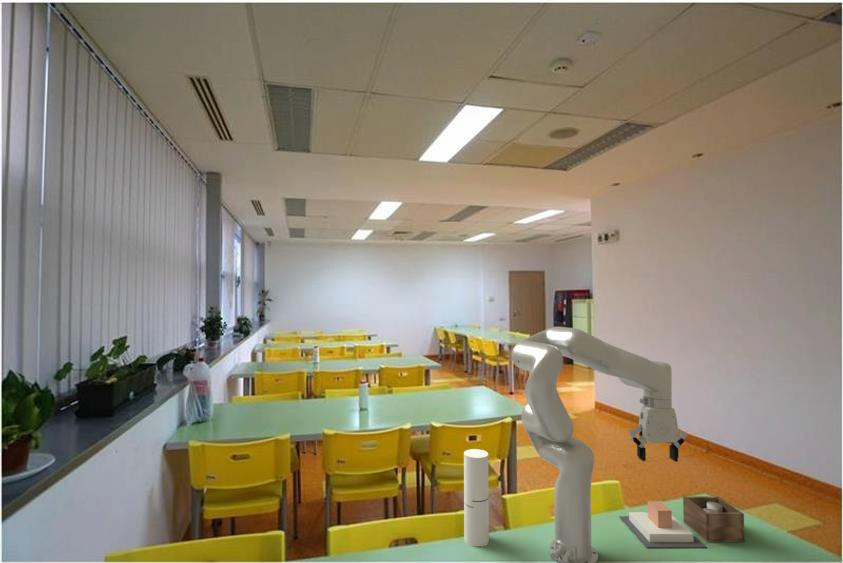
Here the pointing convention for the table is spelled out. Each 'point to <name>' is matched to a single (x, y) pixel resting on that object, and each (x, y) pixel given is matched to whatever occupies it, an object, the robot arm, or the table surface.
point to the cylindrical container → (476, 497)
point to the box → (713, 519)
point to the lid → (660, 524)
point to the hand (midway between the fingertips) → (657, 459)
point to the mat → (647, 544)
